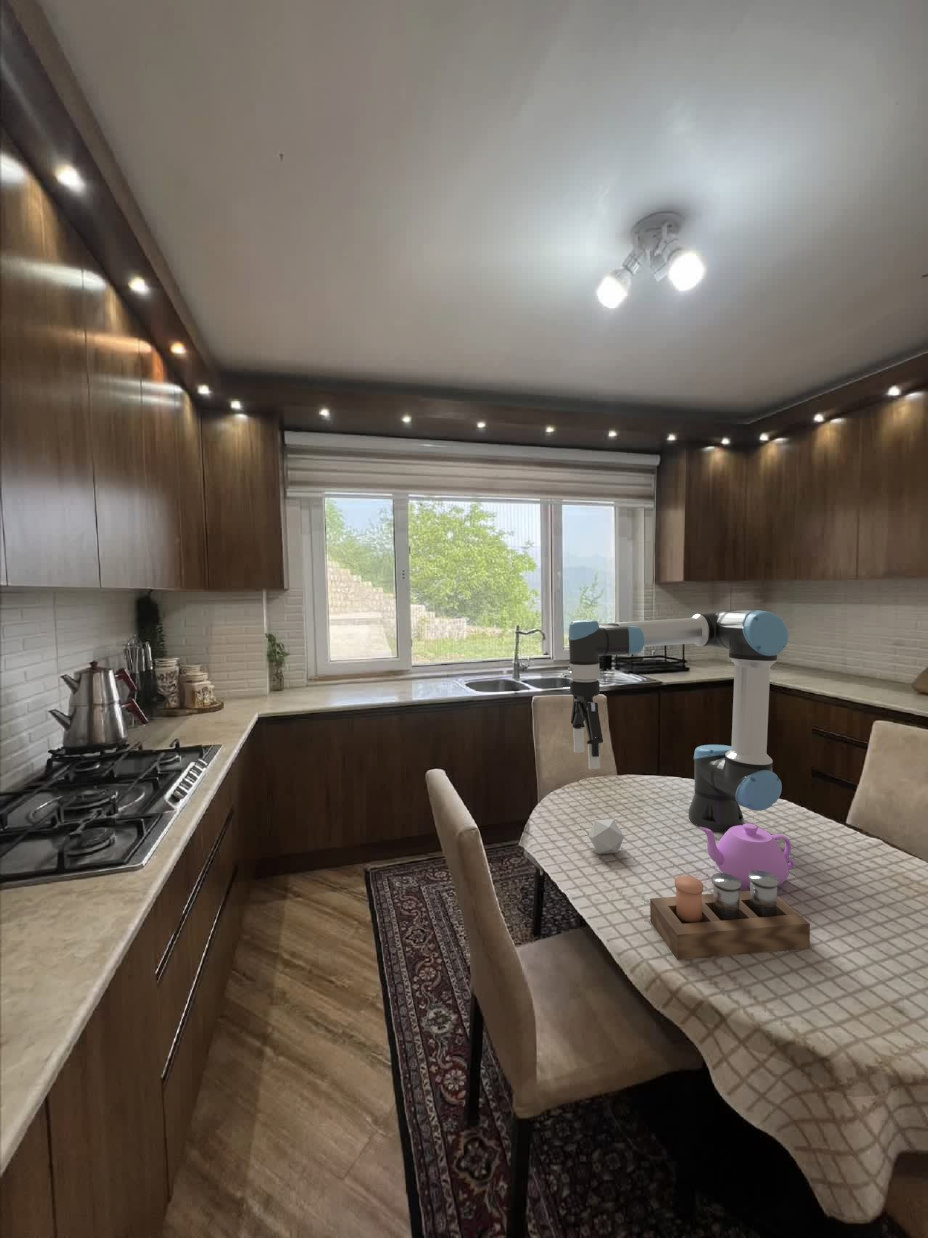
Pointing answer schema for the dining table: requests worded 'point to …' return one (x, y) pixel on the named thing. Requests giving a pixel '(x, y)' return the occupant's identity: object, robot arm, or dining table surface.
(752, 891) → the grey plug near
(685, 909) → the peach plug
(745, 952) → the wooden compartment tray
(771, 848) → the teapot
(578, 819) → the dining table surface
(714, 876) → the grey plug mid
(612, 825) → the die
